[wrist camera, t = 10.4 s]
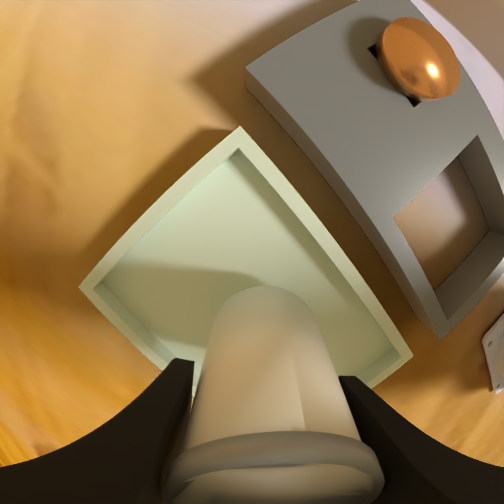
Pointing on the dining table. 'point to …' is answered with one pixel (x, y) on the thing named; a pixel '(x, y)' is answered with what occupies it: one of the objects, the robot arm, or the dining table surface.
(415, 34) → the orange round piece
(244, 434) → the cylinder
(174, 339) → the tray
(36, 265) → the dining table surface
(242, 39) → the dining table surface
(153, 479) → the robot arm
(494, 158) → the housing
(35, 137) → the dining table surface
